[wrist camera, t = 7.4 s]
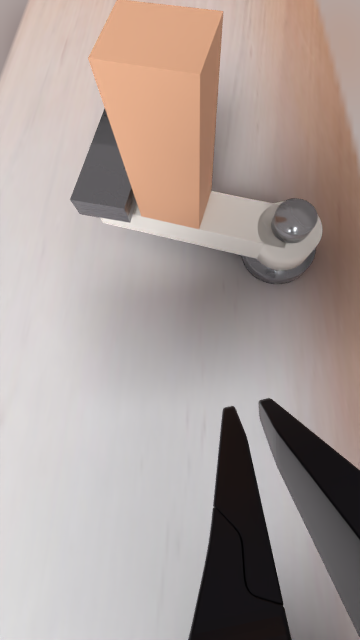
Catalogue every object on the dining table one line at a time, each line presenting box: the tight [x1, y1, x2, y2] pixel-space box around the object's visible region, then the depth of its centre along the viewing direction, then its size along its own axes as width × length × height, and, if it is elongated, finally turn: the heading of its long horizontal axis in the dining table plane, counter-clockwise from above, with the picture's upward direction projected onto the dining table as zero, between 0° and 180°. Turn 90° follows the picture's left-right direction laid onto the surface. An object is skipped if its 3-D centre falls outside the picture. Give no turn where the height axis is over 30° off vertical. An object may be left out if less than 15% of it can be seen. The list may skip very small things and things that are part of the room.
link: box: [88, 0, 323, 270], centre depth 14 cm, size 15×4×11 cm, turn 73°
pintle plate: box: [242, 199, 318, 284], centre depth 18 cm, size 5×5×4 cm
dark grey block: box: [70, 109, 137, 223], centre depth 20 cm, size 4×11×5 cm, turn 167°
